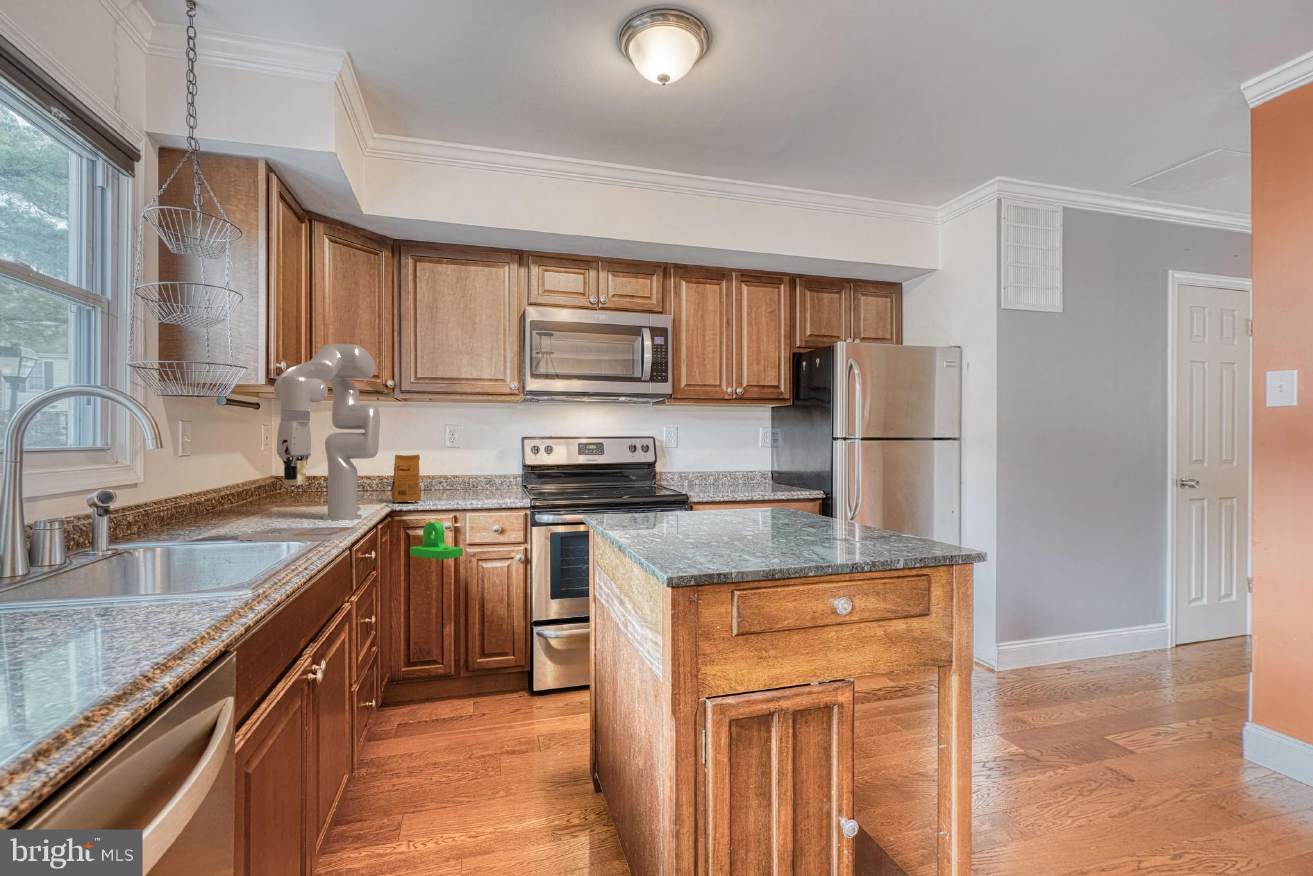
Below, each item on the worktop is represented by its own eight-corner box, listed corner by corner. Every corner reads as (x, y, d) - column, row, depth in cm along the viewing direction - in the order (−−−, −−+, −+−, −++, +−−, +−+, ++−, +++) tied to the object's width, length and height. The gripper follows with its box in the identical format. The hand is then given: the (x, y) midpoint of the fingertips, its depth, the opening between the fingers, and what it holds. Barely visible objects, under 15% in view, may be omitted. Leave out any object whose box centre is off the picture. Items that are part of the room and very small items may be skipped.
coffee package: (391, 501, 277) (391, 454, 277) (420, 500, 282) (420, 454, 282) (390, 503, 268) (390, 454, 268) (420, 502, 272) (420, 454, 272)
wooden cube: (292, 483, 179) (292, 460, 179) (305, 483, 179) (305, 460, 179) (284, 484, 175) (284, 461, 175) (297, 484, 175) (297, 461, 175)
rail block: (272, 532, 185) (272, 527, 185) (357, 532, 186) (357, 526, 186) (237, 541, 169) (237, 535, 169) (331, 540, 170) (331, 534, 170)
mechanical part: (409, 555, 150) (409, 523, 150) (429, 551, 155) (429, 520, 155) (443, 560, 144) (443, 527, 144) (462, 555, 149) (462, 523, 149)
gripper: (299, 418, 186) (299, 477, 186) (264, 416, 169) (264, 481, 169) (323, 418, 186) (323, 477, 186) (291, 416, 169) (291, 481, 169)
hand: (295, 478), depth 177 cm, fingers closed on wooden cube, 4 cm apart
